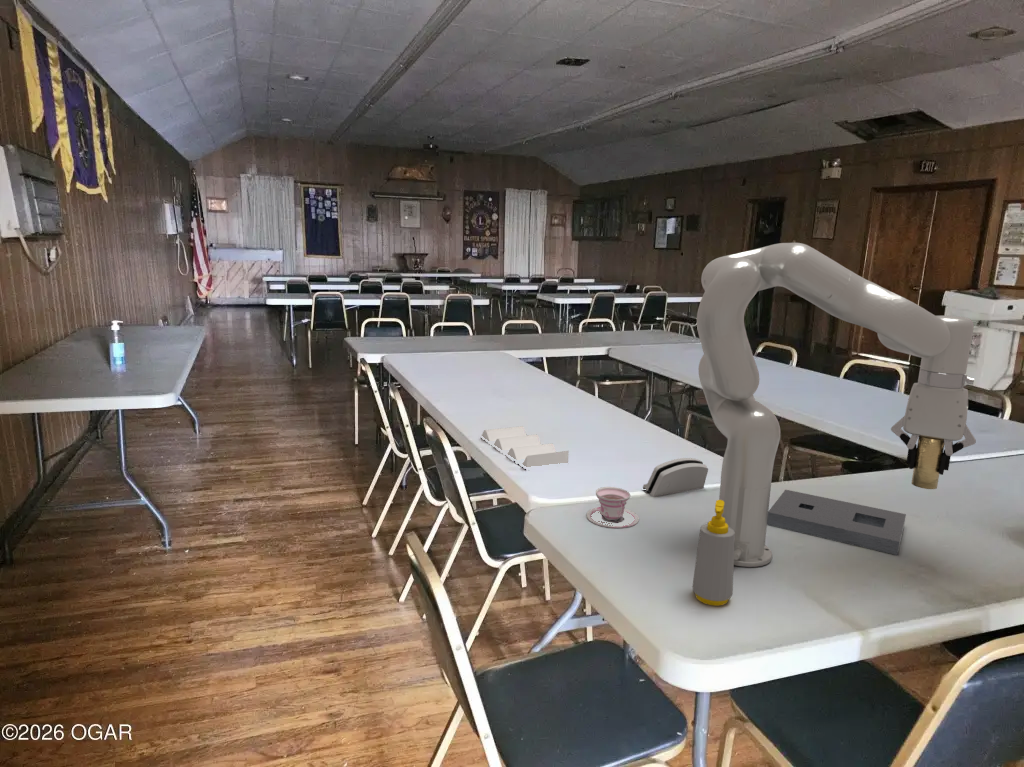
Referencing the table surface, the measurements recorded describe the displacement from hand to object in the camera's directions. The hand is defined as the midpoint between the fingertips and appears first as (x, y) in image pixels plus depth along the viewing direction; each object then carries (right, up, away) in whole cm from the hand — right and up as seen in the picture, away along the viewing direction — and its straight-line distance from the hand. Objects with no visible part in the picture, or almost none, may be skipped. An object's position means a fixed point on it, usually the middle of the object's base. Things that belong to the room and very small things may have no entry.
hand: (926, 469), depth 132 cm
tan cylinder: (0, -3, +1) cm, 3 cm away
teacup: (-59, -14, +21) cm, 65 cm away
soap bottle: (-47, -21, -14) cm, 53 cm away
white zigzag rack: (-80, -4, +70) cm, 106 cm away
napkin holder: (-40, -11, +39) cm, 57 cm away
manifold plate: (-9, -15, +19) cm, 26 cm away
